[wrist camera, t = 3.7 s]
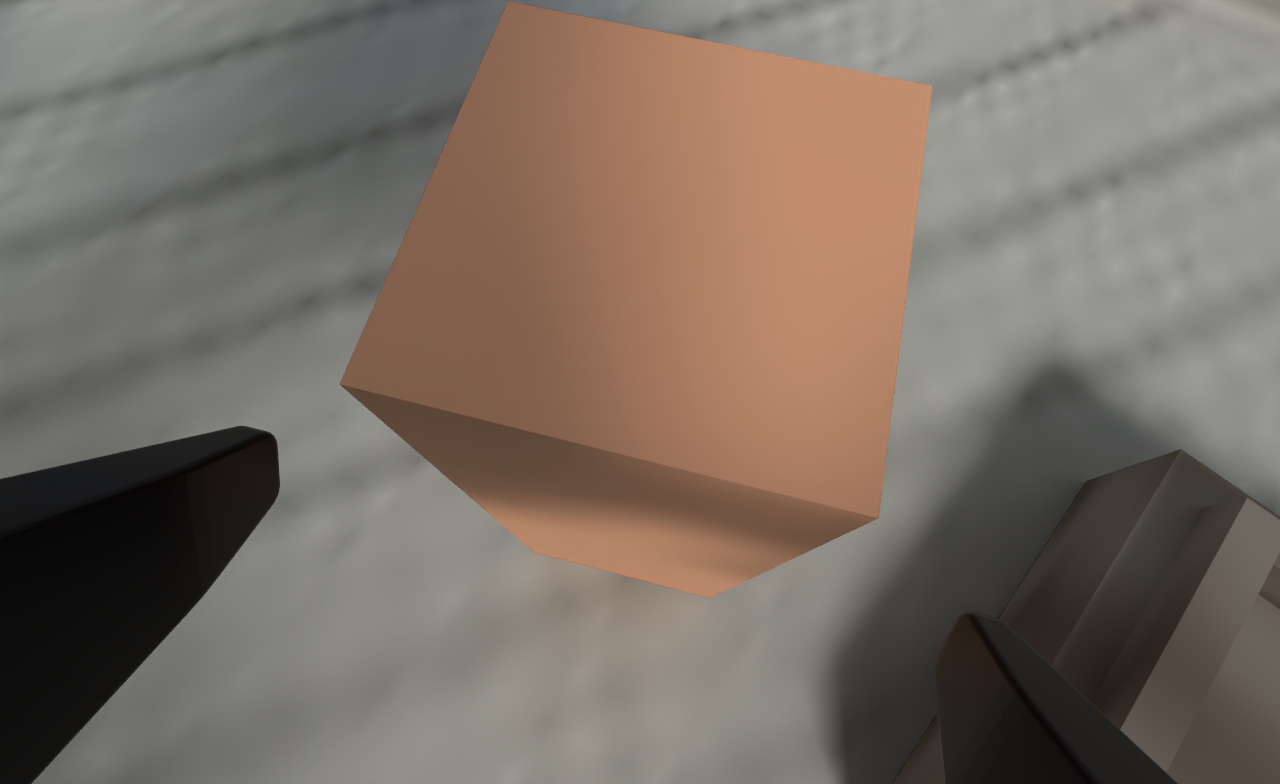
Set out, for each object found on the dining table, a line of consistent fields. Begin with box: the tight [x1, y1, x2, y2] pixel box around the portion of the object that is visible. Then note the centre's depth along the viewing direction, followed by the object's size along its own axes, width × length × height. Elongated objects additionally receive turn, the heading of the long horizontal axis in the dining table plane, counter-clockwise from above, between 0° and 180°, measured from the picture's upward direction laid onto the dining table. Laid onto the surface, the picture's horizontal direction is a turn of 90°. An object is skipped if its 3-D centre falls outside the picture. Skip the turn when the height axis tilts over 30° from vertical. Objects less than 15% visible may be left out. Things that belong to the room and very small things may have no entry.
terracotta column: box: [340, 1, 932, 598], centre depth 13 cm, size 5×5×13 cm
